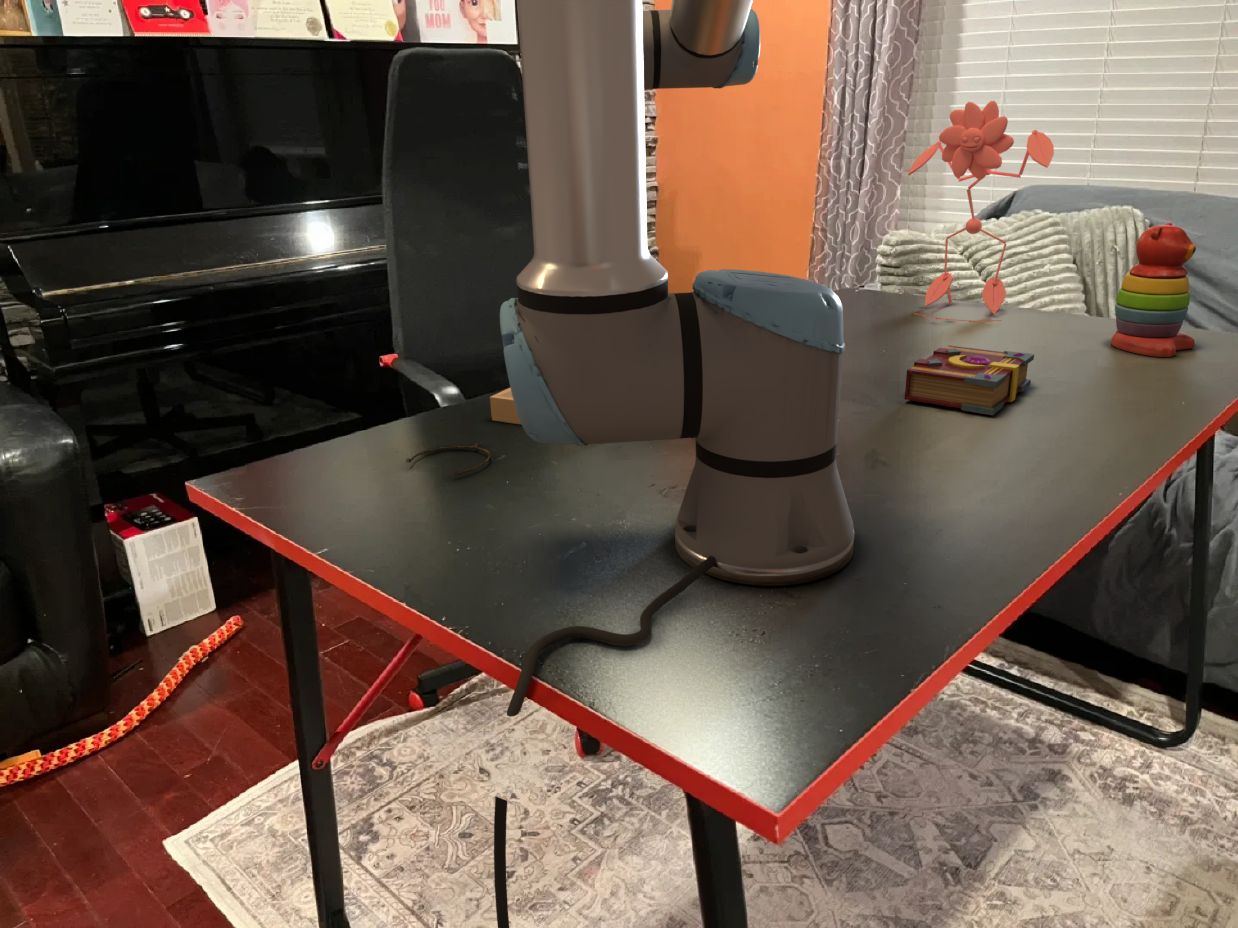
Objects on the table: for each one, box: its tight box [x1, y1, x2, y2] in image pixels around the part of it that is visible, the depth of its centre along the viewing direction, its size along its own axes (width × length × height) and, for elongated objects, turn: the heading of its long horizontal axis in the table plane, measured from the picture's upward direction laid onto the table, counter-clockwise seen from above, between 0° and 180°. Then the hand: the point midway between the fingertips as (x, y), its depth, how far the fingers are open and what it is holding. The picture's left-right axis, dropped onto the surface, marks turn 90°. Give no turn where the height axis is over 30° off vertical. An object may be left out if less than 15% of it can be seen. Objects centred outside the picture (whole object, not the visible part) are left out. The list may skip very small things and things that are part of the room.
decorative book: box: [904, 345, 1035, 416], centre depth 116 cm, size 11×16×5 cm
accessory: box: [405, 441, 492, 476], centre depth 101 cm, size 9×9×1 cm
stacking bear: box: [1110, 222, 1197, 358], centre depth 133 cm, size 11×10×18 cm
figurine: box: [907, 100, 1055, 323], centre depth 155 cm, size 15×26×35 cm, turn 43°
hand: (592, 337), depth 116 cm, fingers closed on poké ball, 7 cm apart
